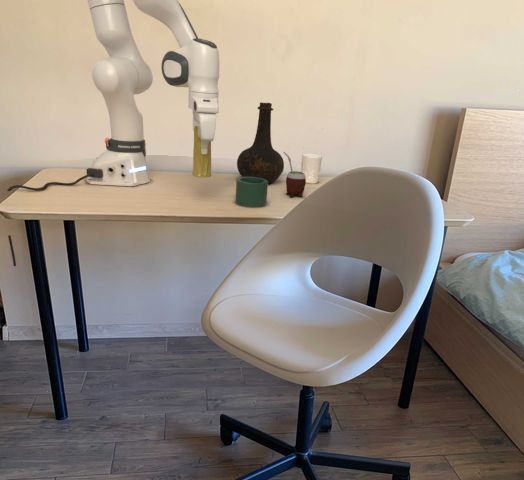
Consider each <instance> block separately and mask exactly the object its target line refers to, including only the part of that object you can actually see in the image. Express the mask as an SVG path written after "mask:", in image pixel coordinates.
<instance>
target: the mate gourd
mask: <svg viewBox="0 0 524 480" xmlns="http://www.w3.org/2000/svg"><path fill="white" fill-rule="evenodd" d="M283 154H284V155H285V156H286V157H287V160H288V162H289V167H290V171H289V172H288V173H287V175H286V178H285V186H286V193H285V195H287V196H289V198H290V199H291V198H295V197H297V198H303V197H304V196H303V194H304V191H305V187H306V184H307V183H306V177H305V174H304V173H302V172H301V171H294V170H293V166H292V165H293V164H292V160H291V157H290V156H289V154H288V153H286V151H283Z"/></svg>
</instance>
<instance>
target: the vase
mask: <svg viewBox="0 0 524 480" xmlns="http://www.w3.org/2000/svg"><path fill="white" fill-rule="evenodd" d="M192 151H193V152H192V153H193V155H192V172H191V175H192V176H193V177H196V178H210V177H212V141H209V143H208V148H207V154H202V153H201V139H200V138H199V136H198V128H197V127H196V126H195V127H194V131H193V150H192Z"/></svg>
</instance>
